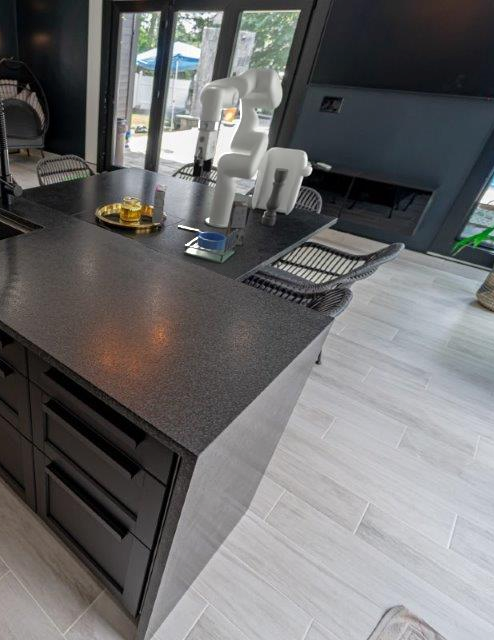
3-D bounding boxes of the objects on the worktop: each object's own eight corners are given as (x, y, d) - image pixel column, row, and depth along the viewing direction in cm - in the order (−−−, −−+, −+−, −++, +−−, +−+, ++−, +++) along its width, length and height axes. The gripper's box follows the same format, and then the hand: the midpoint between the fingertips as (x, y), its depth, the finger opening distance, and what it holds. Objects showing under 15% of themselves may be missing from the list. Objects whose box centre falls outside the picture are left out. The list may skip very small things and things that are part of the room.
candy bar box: (152, 218, 199) (156, 184, 190) (163, 219, 199) (167, 184, 189) (150, 225, 190) (154, 190, 181) (161, 226, 190) (165, 190, 180)
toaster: (300, 211, 215) (319, 150, 198) (296, 217, 207) (315, 154, 190) (248, 202, 226) (262, 144, 209) (243, 207, 219) (257, 147, 201)
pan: (182, 233, 173) (184, 222, 170) (227, 244, 164) (230, 233, 161) (171, 239, 166) (172, 229, 163) (218, 252, 156) (220, 240, 154)
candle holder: (274, 222, 199) (289, 169, 184) (273, 226, 194) (289, 171, 180) (261, 220, 201) (275, 167, 186) (260, 224, 196) (274, 170, 182)
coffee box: (242, 245, 173) (251, 207, 163) (226, 243, 173) (235, 206, 164) (239, 237, 180) (248, 201, 171) (224, 236, 181) (232, 200, 172)
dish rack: (198, 243, 173) (202, 219, 167) (234, 252, 166) (239, 227, 160) (183, 253, 164) (187, 228, 158) (221, 263, 156) (227, 237, 150)
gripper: (209, 129, 144) (201, 179, 154) (226, 124, 155) (218, 171, 165) (190, 127, 147) (183, 176, 157) (208, 122, 159) (201, 168, 169)
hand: (201, 173), depth 161 cm, fingers open, 9 cm apart
